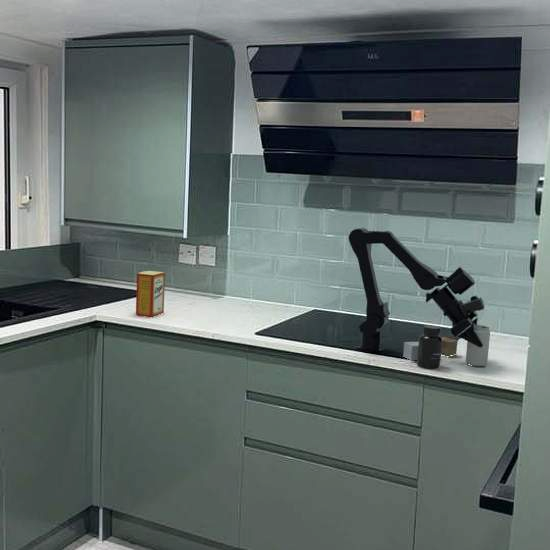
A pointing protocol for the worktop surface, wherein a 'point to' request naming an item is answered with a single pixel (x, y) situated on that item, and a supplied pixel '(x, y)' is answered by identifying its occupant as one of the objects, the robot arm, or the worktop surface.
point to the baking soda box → (150, 293)
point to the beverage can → (479, 354)
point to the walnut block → (449, 346)
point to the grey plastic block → (411, 350)
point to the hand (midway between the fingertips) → (482, 344)
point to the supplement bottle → (429, 348)
